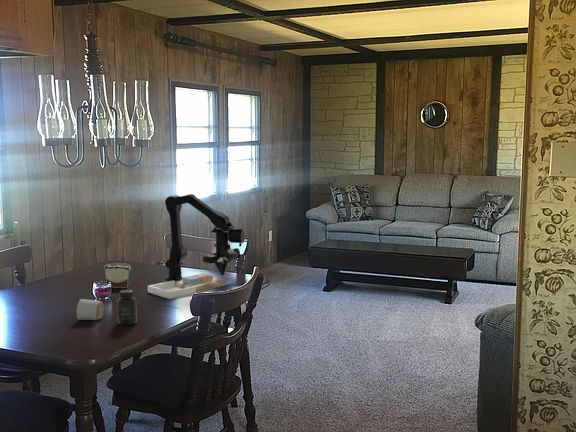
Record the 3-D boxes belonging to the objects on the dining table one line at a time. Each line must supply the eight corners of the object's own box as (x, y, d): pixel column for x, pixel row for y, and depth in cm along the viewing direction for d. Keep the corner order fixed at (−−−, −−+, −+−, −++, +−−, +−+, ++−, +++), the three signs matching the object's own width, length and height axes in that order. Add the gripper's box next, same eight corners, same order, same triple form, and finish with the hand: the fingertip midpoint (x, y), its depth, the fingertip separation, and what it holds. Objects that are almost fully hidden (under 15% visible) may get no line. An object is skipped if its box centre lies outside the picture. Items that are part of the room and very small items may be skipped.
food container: (135, 284, 294) (134, 263, 292) (130, 288, 288) (130, 266, 286) (109, 284, 295) (108, 262, 294) (104, 287, 289) (103, 265, 288)
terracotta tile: (194, 280, 292) (194, 275, 291) (204, 278, 296) (204, 273, 296) (202, 282, 288) (202, 277, 287) (212, 280, 292) (212, 275, 292)
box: (147, 292, 280) (147, 285, 279) (173, 287, 290) (173, 280, 289) (169, 299, 269) (169, 292, 269) (195, 293, 279) (195, 286, 279)
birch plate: (175, 287, 289) (175, 281, 289) (206, 280, 302) (206, 275, 302) (195, 292, 280) (194, 287, 280) (226, 285, 293) (226, 280, 293)
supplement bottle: (140, 321, 237) (140, 290, 236) (129, 326, 231) (128, 294, 230) (125, 319, 240) (125, 288, 239) (113, 324, 234) (112, 292, 233)
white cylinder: (98, 322, 236) (98, 302, 235) (76, 322, 236) (75, 301, 235) (107, 314, 247) (106, 295, 246) (86, 314, 247) (85, 295, 246)
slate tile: (182, 282, 287) (182, 277, 287) (193, 280, 291) (193, 275, 291) (191, 285, 283) (190, 279, 283) (201, 282, 287) (201, 277, 287)
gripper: (218, 246, 286) (218, 281, 288) (248, 241, 299) (248, 274, 301) (202, 243, 293) (202, 277, 295) (232, 238, 307) (232, 271, 309)
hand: (222, 275), depth 300 cm, fingers closed
